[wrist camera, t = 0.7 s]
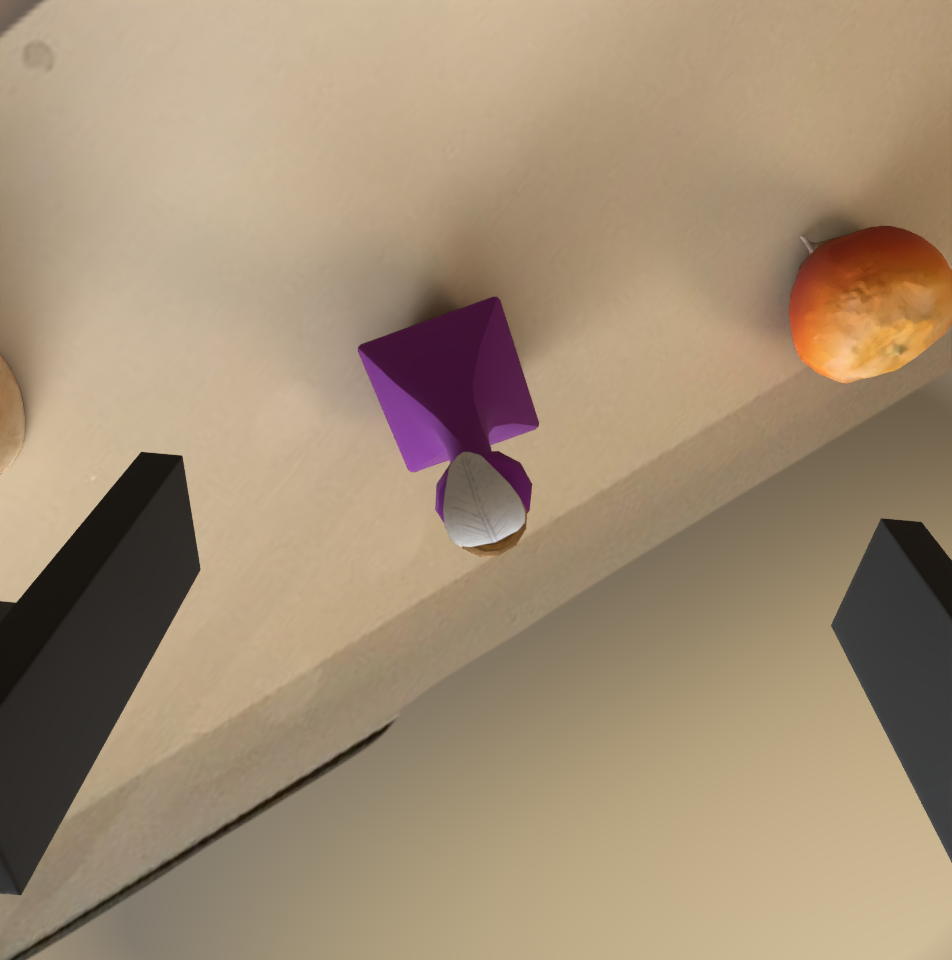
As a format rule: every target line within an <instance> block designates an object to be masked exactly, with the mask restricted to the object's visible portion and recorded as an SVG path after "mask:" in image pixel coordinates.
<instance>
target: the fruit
mask: <svg viewBox="0 0 952 960" xmlns="http://www.w3.org/2000/svg"><path fill="white" fill-rule="evenodd" d="M800 238H801V240H802V241H803V243H804V244H805V245H806V247H807V249H808V250H809V256H808V257H807V258H806V260H805V261H804V262H803V263H802V264H801V266H800V268H799V271H798V274H797V277H796V280H795V283H794V286H793V289H792V292H791V296H790V306H789V316H790V325H791V331H792V336H793V341H794V345H795V348H796V350H797V353H798V355H799V357H800V359H801V360H802V361H804V362H805V363H806V364H807V365H808V366H810V367H811V368H812V369H814V370H815V371H816V372H818V373H819V374H821V375H824V376H827V377H829V378H831V379H833V380H836V381H839V382H842V383H851V382H853V381H856V380H859V379H863V378H869V377H874V376H877V375H880V374H883V373H887V372H892V371H895V370H897V369H899V368H900V367H902V366H903V365H905V364H906V363H908V362H909V361H911V360H913V359H914V358H916V357H917V356H918V355H920V354H921V353H922V352H923V351H925V350H926V349H927V348H928V347H929V346H931V345H932V344H933V343H934V342H936V341H937V340H938V339H939V338H940V337H941V336H942V335H943V334H944V333H945V332H946V331H947V330H948V329H949V327H950V326H951V324H952V270H951V269H950V267H949V265H948V263H947V262H946V260H945V258H944V257H943V255H942V254H941V253H940V252H939V251H938V250H937V249H936V248H935V247H934V246H933V245H932V244H930V243H929V242H928V241H926V240H925V239H923V238H922V237H921V236H919V235H917V234H914V233H912V232H910V231H907V230H905V229H901V228H896V227H891V226H878V227H869V228H866V229H862V230H859V231H857V232H854V233H852V234H849V235H845V236H841V237H837V238H833V239H830V240H827V241H823V242H819V243H811V242H810V241H809V240H808V239H807V238H806V237H805V236H804V235H803V237H800Z"/></svg>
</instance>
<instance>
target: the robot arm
mask: <svg viewBox="0 0 952 960" xmlns="http://www.w3.org/2000/svg"><path fill="white" fill-rule="evenodd" d="M200 570H201V569H200V563H199V557H198V551H197V544H196V538H195V532H194V526H193V519H192V513H191V507H190V501H189V495H188V488H187V482H186V476H185V470H184V463H183V457H182V456H180V455H169V454H158V453H147V452H141V453H140V454H139V455H138V456H137V458H136V459H135V460H134V461H133V463H132V464H131V465H130V466H129V467H128V469H127V470H126V471H125V472H124V473H123V475H122V476H121V477H120V478H119V479H118V481H117V482H116V483H115V484H114V485H113V487H112V488H111V489H110V490H109V492H108V493H107V494H106V495H105V496H104V498H103V499H102V500H101V501H100V502H99V504H98V505H97V506H96V507H95V508H94V510H93V511H92V512H91V513H90V514H89V516H88V517H87V518H86V519H85V521H84V522H83V523H82V524H81V525H80V527H79V528H78V529H77V530H76V531H75V533H74V534H73V535H72V536H71V537H70V539H69V540H68V541H67V542H66V543H65V545H64V546H63V547H62V548H61V550H60V551H59V552H58V553H57V554H56V556H55V557H54V558H53V559H52V560H51V562H50V563H49V564H48V565H47V566H46V568H45V569H44V570H43V571H42V572H41V574H40V575H39V576H38V577H37V579H36V580H35V581H34V582H33V583H32V585H31V586H30V587H29V588H28V589H27V591H26V592H25V593H24V594H23V595H22V597H21V598H20V599H19V600H18V601H17V603H13V602H1V601H0V893H2V894H14V895H21V894H22V892H23V891H24V889H25V887H26V885H27V883H28V882H29V880H30V878H31V876H32V874H33V872H34V871H35V869H36V867H37V865H38V863H39V862H40V860H41V858H42V856H43V854H44V853H45V851H46V849H47V847H48V845H49V843H50V842H51V840H52V838H53V836H54V834H55V833H56V831H57V829H58V827H59V825H60V824H61V822H62V820H63V818H64V816H65V814H66V813H67V811H68V809H69V807H70V805H71V804H72V802H73V800H74V798H75V796H76V795H77V793H78V791H79V789H80V787H81V785H82V784H83V782H84V780H85V778H86V776H87V775H88V773H89V771H90V769H91V767H92V766H93V764H94V762H95V760H96V758H97V756H98V755H99V753H100V751H101V749H102V747H103V746H104V744H105V742H106V740H107V738H108V736H109V735H110V733H111V731H112V729H113V727H114V726H115V724H116V722H117V720H118V718H119V717H120V715H121V713H122V711H123V709H124V707H125V706H126V704H127V702H128V700H129V698H130V697H131V695H132V693H133V691H134V689H135V688H136V686H137V684H138V682H139V680H140V678H141V677H142V675H143V673H144V671H145V669H146V668H147V666H148V664H149V662H150V660H151V659H152V657H153V655H154V653H155V651H156V649H157V648H158V646H159V644H160V642H161V640H162V639H163V637H164V635H165V633H166V631H167V630H168V628H169V626H170V624H171V622H172V620H173V619H174V617H175V615H176V613H177V611H178V610H179V608H180V606H181V604H182V602H183V600H184V599H185V597H186V595H187V593H188V591H189V590H190V588H191V586H192V584H193V582H194V581H195V579H196V577H197V575H198V573H199V571H200ZM831 626H832V628H833V630H834V632H835V634H836V636H837V638H838V640H839V642H840V644H841V646H842V648H843V650H844V652H845V654H846V656H847V658H848V660H849V662H850V664H851V666H852V668H853V670H854V672H855V673H856V676H857V677H858V679H859V681H860V683H861V685H862V687H863V689H864V691H865V693H866V695H867V697H868V699H869V701H870V703H871V705H872V707H873V709H874V711H875V713H876V714H877V717H878V719H879V720H880V722H881V725H882V727H883V728H884V730H885V732H886V734H887V736H888V738H889V740H890V742H891V744H892V746H893V748H894V750H895V752H896V754H897V756H898V758H899V760H900V762H901V763H902V766H903V768H904V770H905V771H906V774H907V775H908V778H909V779H910V781H911V783H912V785H913V787H914V789H915V791H916V793H917V795H918V797H919V799H920V801H921V803H922V805H923V807H924V809H925V811H926V813H927V815H928V817H929V818H930V820H931V823H932V825H933V827H934V829H935V831H936V832H937V834H938V836H939V838H940V840H941V842H942V844H943V846H944V848H945V850H946V852H947V854H948V856H949V858H950V860H951V862H952V560H951V559H950V558H949V557H948V555H947V554H946V553H945V551H944V550H943V549H942V548H941V546H940V545H939V544H938V543H937V541H936V540H935V539H934V537H933V536H932V535H931V534H930V532H929V531H928V530H927V529H926V527H925V526H924V525H923V523H922V522H915V521H903V520H893V519H881V520H880V522H879V524H878V526H877V528H876V530H875V532H874V535H873V537H872V539H871V541H870V543H869V545H868V547H867V550H866V552H865V554H864V556H863V558H862V560H861V562H860V565H859V567H858V569H857V571H856V573H855V575H854V577H853V579H852V582H851V584H850V586H849V588H848V590H847V592H846V595H845V597H844V599H843V601H842V603H841V605H840V607H839V609H838V612H837V614H836V616H835V618H834V620H833V622H832V625H831Z"/></svg>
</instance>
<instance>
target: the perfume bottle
mask: <svg viewBox="0 0 952 960" xmlns="http://www.w3.org/2000/svg"><path fill="white" fill-rule="evenodd" d="M358 352H359V355H360V357H361V359H362V362H363V364H364V366H365V369H366V371H367V374H368V376H369V378H370V381H371V383H372V385H373V388H374V390H375V392H376V395H377V397H378V400H379V402H380V404H381V407H382V409H383V411H384V414H385V416H386V419H387V421H388V423H389V426H390V428H391V430H392V433H393V435H394V438H395V440H396V442H397V445H398V447H399V449H400V452H401V454H402V457H403V459H404V461H405V464H406V466H407V468H408V470H409V471H410V472H416V471H419V470H422V469H425V468H428V467H430V466H433V465H436V464H439V463H442V462H445V461H447V460H450V463H451V464H450V465H449V467H448V468H447V470H446V471H445V473H444V474H443V476H442V477H441V479H440V480H439V482H438V483H437V489H436V508H435V510H436V511H437V513H438V514H439V516H440V518H441V519H442V521H443V522H444V524H445V528H446V530H447V533H448V535H449V537H450V539H451V540H452V541H453V542H454V543H456V544H457V545H458V546H462V548H463V549H465V550H467V551H469V552H471V553H473V554H475V555H478V556H480V557H482V556H498V555H501V554H502V553H504V552H506V551H507V550H509V549H511V548H512V547H514V546H516V544H517V543H518V541H519V540H520V538H521V536H522V535H523V533H524V531H525V530H526V520H527V513H528V512H529V510H530V500H531V490H532V483H531V481H530V479H529V478H528V476H527V474H526V472H525V470H524V469H523V467H522V465H521V464H520V462H518V461H516V460H514V459H512V458H510V457H508V456H506V455H504V454H502V453H500V452H499V451H491V446H490V445H493V444H495V443H498V442H501V441H504V440H507V439H509V438H512V437H515V436H518V435H521V434H524V433H526V432H529V431H532V430H535V429H536V428H537V427H538V426H539V421H538V418H537V415H536V412H535V409H534V406H533V402H532V399H531V396H530V393H529V390H528V387H527V383H526V380H525V377H524V374H523V371H522V368H521V365H520V361H519V358H518V355H517V352H516V349H515V346H514V342H513V339H512V336H511V333H510V330H509V327H508V323H507V320H506V317H505V314H504V311H503V308H502V305H501V301H500V299H499V298H498V297H491V298H488V299H485V300H483V301H480V302H477V303H474V304H472V305H469V306H466V307H463V308H461V309H458V310H455V311H452V312H449V313H447V314H444V315H441V316H438V317H436V318H433V319H430V320H427V321H425V322H422V323H419V324H416V325H414V326H411V327H408V328H405V329H402V330H400V331H397V332H394V333H391V334H389V335H386V336H383V337H380V338H378V339H375V340H372V341H369V342H367V343H364V344H361V345H360V346H359V347H358Z"/></svg>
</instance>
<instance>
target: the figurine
mask: <svg viewBox="0 0 952 960" xmlns="http://www.w3.org/2000/svg"><path fill="white" fill-rule="evenodd" d="M24 436H25V415H24V408H23V402H22V397H21V393H20V389H19V386H18V384H17V381H16V379H15V377H14V375H13V373H12V371H11V370H10V368H9V367H8V365H7V363H6V362H5V361H4V359H3V358H2V356H1V355H0V475H1V474H2V473H3V472H4V471H5V470H6V469H7V468H8V467H9V466H10V465H11V464H12V463H13V461H14V460H15V459H16V457H17V456H18V454H19V452H20V450H21V448H22V446H23V442H24Z"/></svg>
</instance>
